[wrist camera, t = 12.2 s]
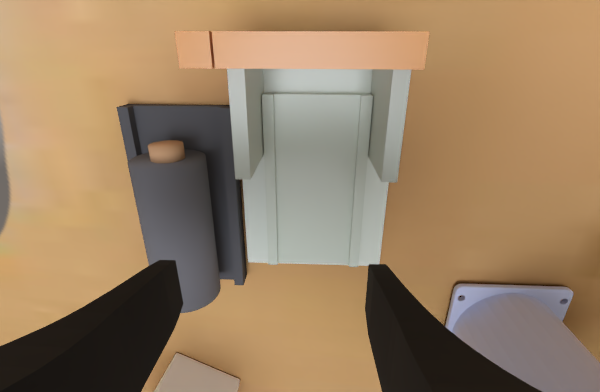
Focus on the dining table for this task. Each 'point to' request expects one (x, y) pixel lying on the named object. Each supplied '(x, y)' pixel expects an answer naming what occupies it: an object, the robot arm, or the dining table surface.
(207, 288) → the grey roller spool
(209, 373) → the milk
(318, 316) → the dining table surface
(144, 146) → the dark grey roller cradle
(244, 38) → the long tan wooden plank
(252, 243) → the white roller cradle
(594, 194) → the dining table surface
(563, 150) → the dining table surface
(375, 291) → the robot arm
